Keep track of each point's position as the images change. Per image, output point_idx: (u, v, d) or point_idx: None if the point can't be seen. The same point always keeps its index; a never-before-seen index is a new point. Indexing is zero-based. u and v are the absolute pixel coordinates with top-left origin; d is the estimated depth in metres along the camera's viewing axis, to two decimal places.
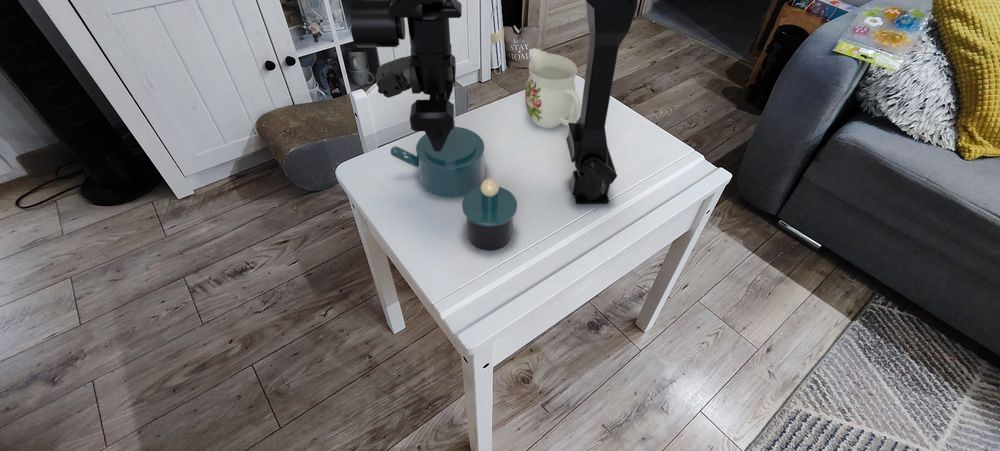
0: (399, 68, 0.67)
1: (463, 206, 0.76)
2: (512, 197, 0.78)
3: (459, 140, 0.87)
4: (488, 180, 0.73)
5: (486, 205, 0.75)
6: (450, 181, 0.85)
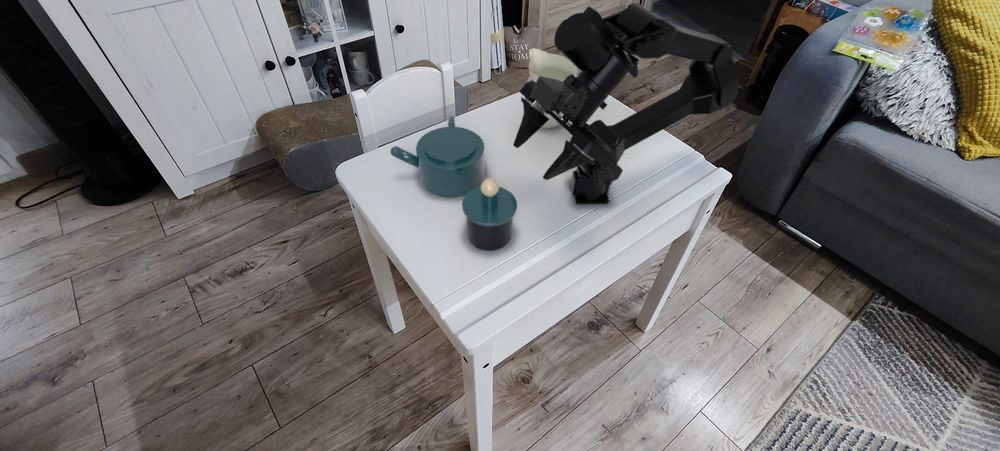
0: None
1: (463, 206, 0.76)
2: (512, 197, 0.78)
3: (459, 140, 0.87)
4: (488, 180, 0.73)
5: (486, 205, 0.75)
6: (450, 181, 0.85)
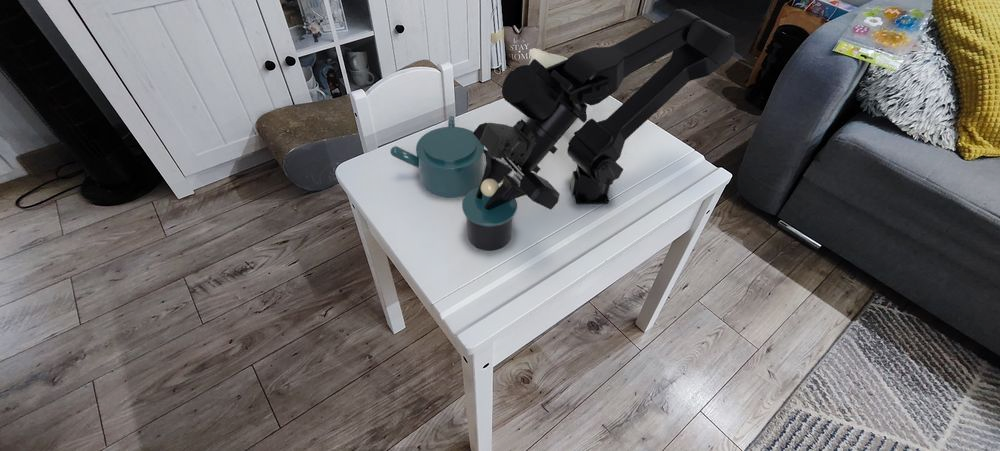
0: (517, 136, 0.68)
1: (463, 206, 0.76)
2: None
3: (459, 140, 0.87)
4: (488, 180, 0.73)
5: None
6: (450, 181, 0.85)
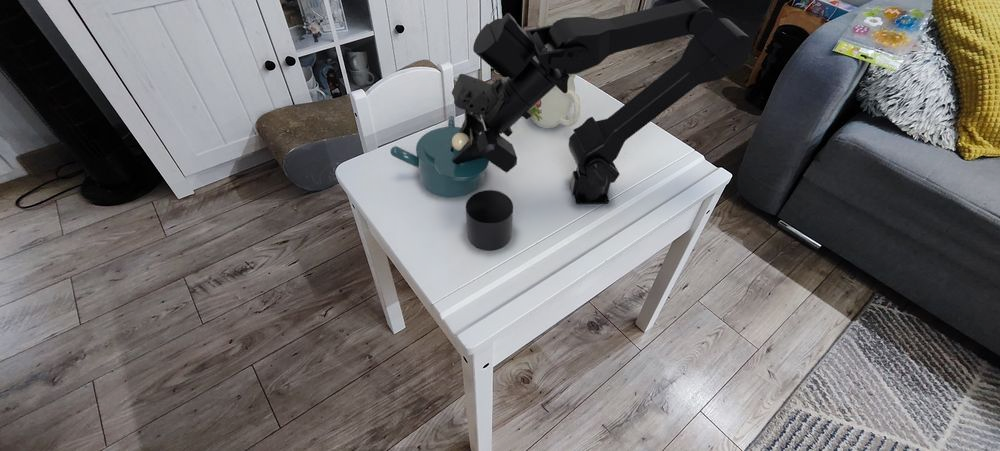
0: (486, 92, 0.68)
1: (436, 156, 0.78)
2: None
3: None
4: (459, 134, 0.73)
5: None
6: (450, 181, 0.85)
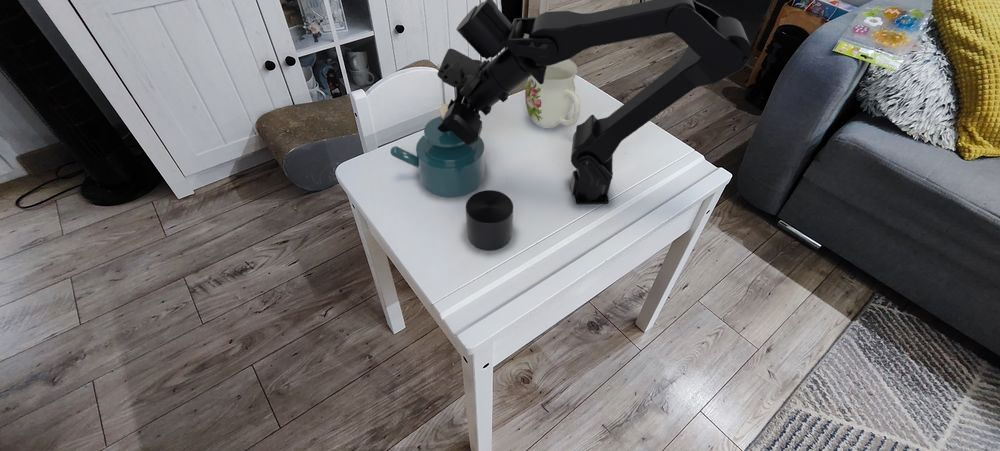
0: (467, 68, 0.73)
1: (429, 122, 0.85)
2: None
3: None
4: (446, 104, 0.80)
5: None
6: (450, 181, 0.85)
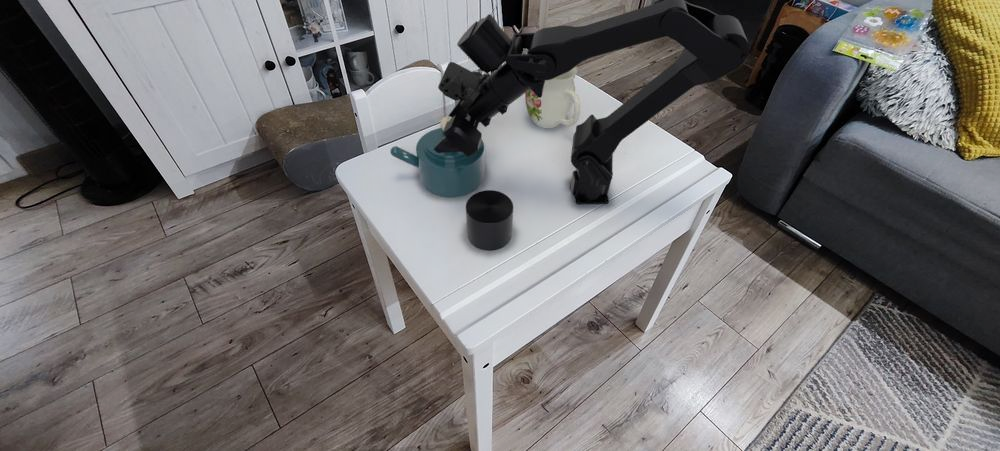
0: (467, 81, 0.75)
1: (430, 133, 0.87)
2: None
3: None
4: (447, 117, 0.82)
5: None
6: (450, 181, 0.85)
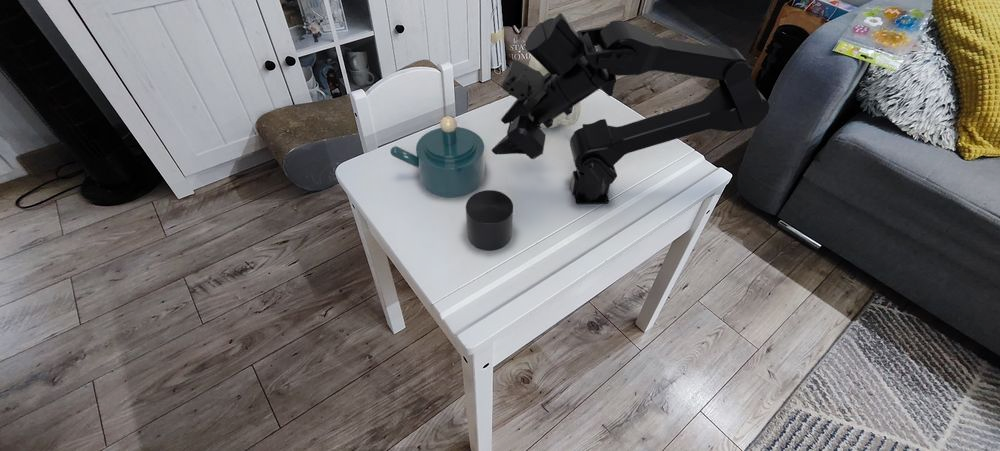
0: (532, 80, 0.72)
1: (430, 133, 0.87)
2: (470, 145, 0.85)
3: None
4: (447, 117, 0.82)
5: (443, 139, 0.85)
6: (450, 181, 0.85)
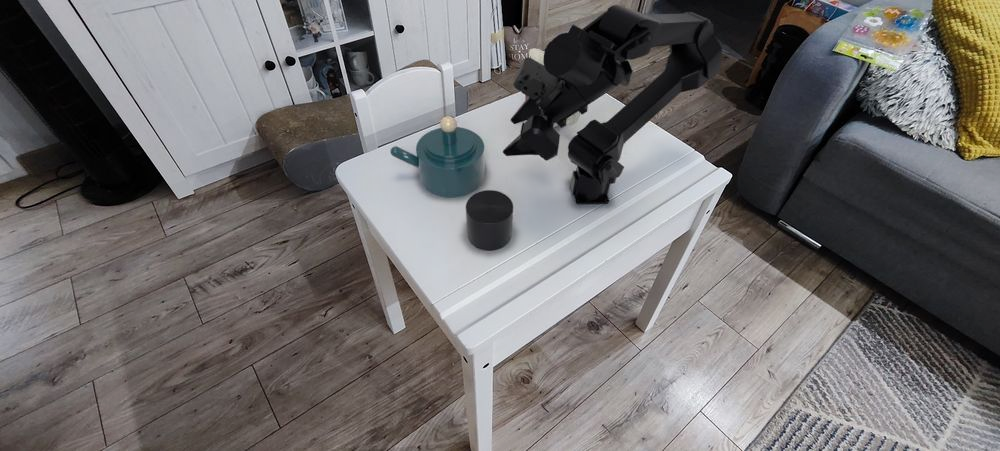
0: (546, 78, 0.69)
1: (430, 133, 0.87)
2: (470, 145, 0.85)
3: None
4: (447, 117, 0.82)
5: (443, 139, 0.85)
6: (450, 181, 0.85)
